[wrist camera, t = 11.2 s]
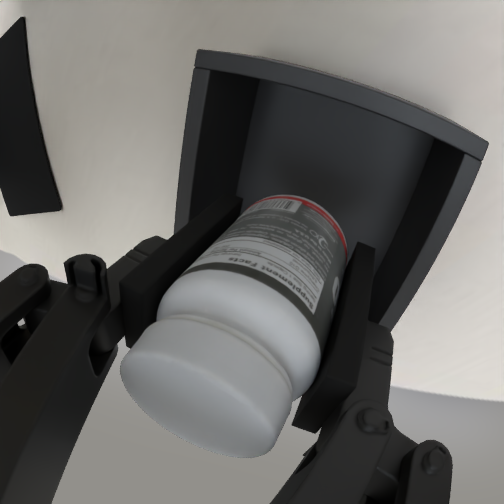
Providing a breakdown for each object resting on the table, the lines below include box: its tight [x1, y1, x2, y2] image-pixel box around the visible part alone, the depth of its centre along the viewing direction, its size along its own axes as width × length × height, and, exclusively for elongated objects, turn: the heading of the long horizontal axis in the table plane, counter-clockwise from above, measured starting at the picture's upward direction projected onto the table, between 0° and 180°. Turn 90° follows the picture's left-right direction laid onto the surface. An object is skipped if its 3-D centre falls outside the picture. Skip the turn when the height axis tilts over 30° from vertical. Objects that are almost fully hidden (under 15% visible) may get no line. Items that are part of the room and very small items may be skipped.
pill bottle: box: [120, 195, 348, 458], centre depth 10 cm, size 5×5×8 cm
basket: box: [174, 49, 489, 332], centre depth 16 cm, size 14×12×7 cm
